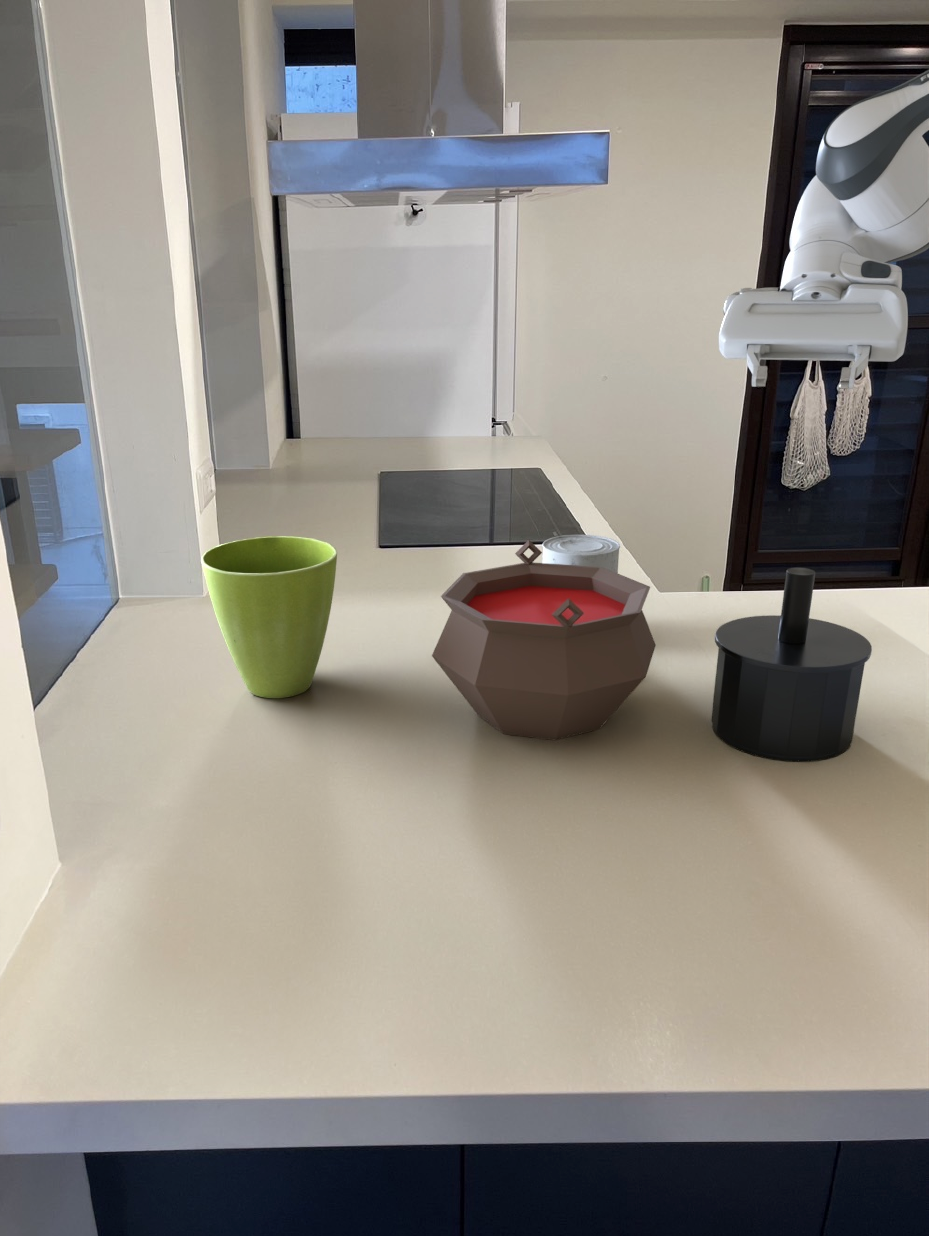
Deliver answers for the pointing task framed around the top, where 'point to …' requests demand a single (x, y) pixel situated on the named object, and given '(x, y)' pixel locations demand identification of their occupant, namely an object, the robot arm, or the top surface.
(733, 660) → the pot
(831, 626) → the lid
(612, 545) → the tin can
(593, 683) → the brown cauldron
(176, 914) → the top surface
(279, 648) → the flower pot
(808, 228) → the robot arm
